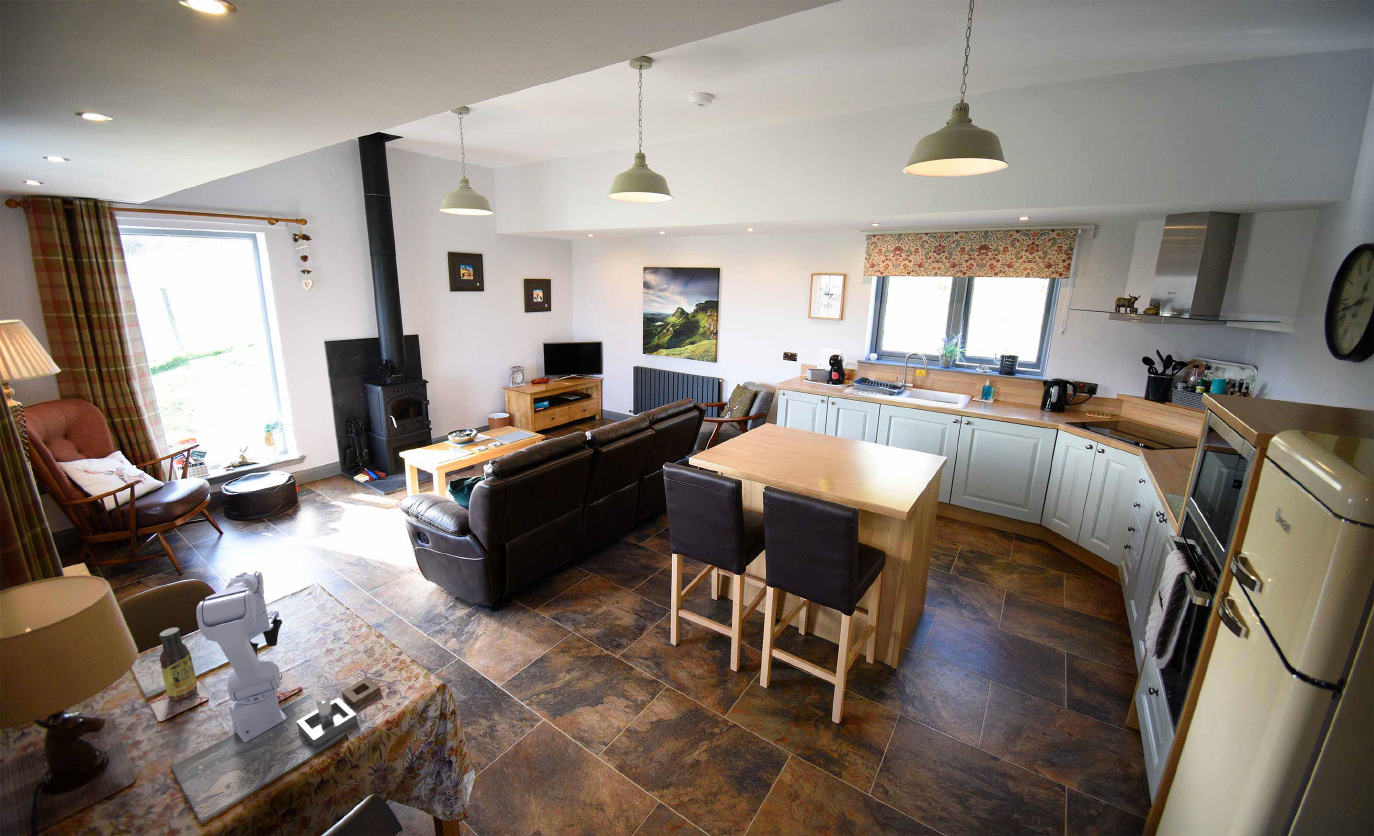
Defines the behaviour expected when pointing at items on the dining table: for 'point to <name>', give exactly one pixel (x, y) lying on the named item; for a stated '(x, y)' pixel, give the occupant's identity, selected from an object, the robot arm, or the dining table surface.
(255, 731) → the robot arm
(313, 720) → the tray
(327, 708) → the pin
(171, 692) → the sauce bottle
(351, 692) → the frame
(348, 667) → the dining table surface
